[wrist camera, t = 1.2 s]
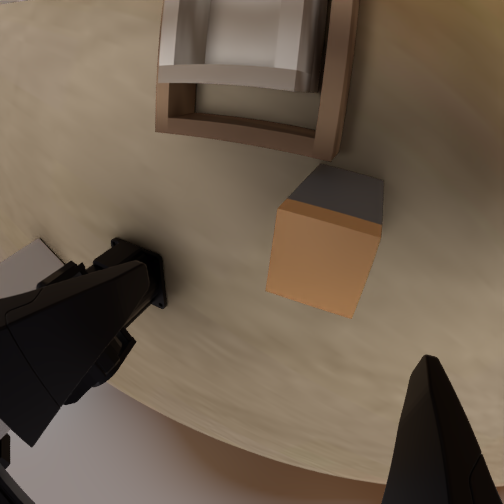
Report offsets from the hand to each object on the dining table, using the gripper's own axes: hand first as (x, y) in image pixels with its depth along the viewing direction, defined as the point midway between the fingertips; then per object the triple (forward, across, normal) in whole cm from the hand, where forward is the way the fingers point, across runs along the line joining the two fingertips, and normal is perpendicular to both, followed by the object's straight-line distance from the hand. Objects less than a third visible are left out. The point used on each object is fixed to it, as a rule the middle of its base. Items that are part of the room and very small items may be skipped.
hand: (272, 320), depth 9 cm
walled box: (+12, +6, -9) cm, 16 cm away
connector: (+12, 0, +1) cm, 12 cm away
